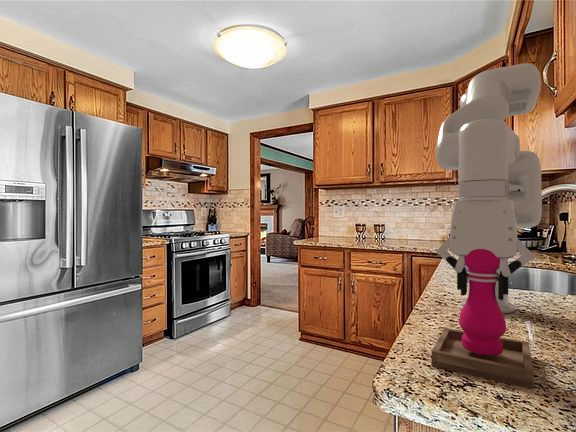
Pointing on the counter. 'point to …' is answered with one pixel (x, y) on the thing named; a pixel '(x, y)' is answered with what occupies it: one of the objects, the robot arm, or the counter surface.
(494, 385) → the counter surface
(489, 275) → the pepper mill
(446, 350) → the tray
